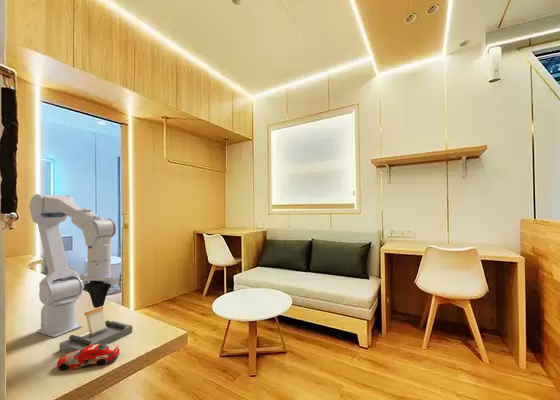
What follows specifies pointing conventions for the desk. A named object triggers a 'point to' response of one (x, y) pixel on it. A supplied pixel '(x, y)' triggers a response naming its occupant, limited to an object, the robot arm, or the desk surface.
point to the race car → (89, 357)
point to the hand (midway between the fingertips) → (98, 306)
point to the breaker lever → (95, 321)
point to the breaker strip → (96, 337)
